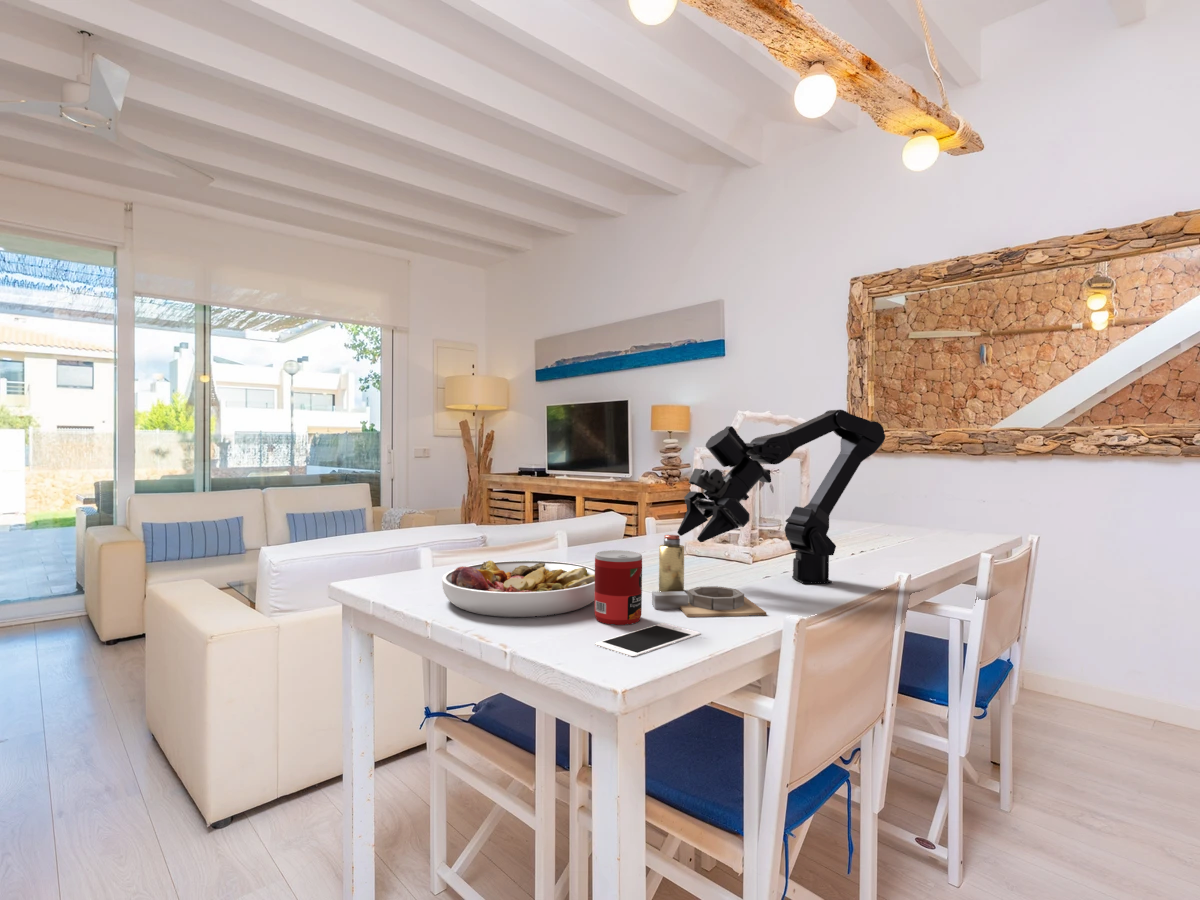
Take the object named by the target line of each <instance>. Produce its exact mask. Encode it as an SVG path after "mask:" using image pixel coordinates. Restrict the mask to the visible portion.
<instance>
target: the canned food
mask: <svg viewBox="0 0 1200 900" xmlns="http://www.w3.org/2000/svg"><path fill="white" fill-rule="evenodd" d="M642 556H643V555H642V553H640V552H636V551H630V550H618V549H617V550H616V549H615V550H602V551H598V552H596V553H595V557H594V568H595V600H594V617H595V620H596V621H598V622H599V623H601V622H602V624H605V623H606V624H605V625H611V624H615V625H614V626H626V625H625V624H629V625H633V624H632V623H634V624H636V622H637V623H639V621H640V620H641V617H642V606H643V605H642V601H643V598H642V597H643V557H642Z"/></svg>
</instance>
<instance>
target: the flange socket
mask: <svg viewBox="0 0 1200 900" xmlns="http://www.w3.org/2000/svg"><path fill="white" fill-rule="evenodd" d="M651 605H653V606H652V607H653V608H654V610H671V609H672V610H673V609H674V610H676V609H677V610H679V609H680V610H682V611H681V612H682V613H683V614H684V616H686V618H687V617H688V618H691V617H692V618H695V617H696V618H697V617H698V618H700V617H703V618H704V617H706V618H707V617H743V616H744V617H748V616H749V615H759V616H767V611H765V610H764V609H763V608H761V607H759V606H758V604H755V603H754V602H753V601H752V600H750V599H749V598H747V597H746V596H745V593H743V592H742V591H741V590H739V589H737V588H731V587H724V586H718V585H716V586H709V585H708V586H696V587H694V588H693V587H692V588H690V589H688V590H687V592H686V591H685V590H684V591H674V592H660V591H652V592H651Z"/></svg>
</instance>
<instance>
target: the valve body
mask: <svg viewBox="0 0 1200 900" xmlns="http://www.w3.org/2000/svg"><path fill="white" fill-rule="evenodd" d="M658 546H659V547H658V549H659V551H658V553H659V554H658V555H659V556H658V557H659V561H658V592H660V591H661V592H674V591H684V592H685V545H682V544H681V539H680V535H679V534H678V535H677V534H665V535H664V536H663V544H659V545H658Z"/></svg>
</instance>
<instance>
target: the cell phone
mask: <svg viewBox="0 0 1200 900" xmlns="http://www.w3.org/2000/svg"><path fill="white" fill-rule="evenodd" d="M701 634H702V633H701V632H700V631H696V630H692V629H687V628H685V627H681V626H676V625H674V624H673V625H672V624H669V623H665V622H661V623H657V624H654V625H650V626H647V627H644V628H641V629H638V630H633V631H630V632H626V633H623V634H619V635H617V636H613V637H610V638H607V639H603V640H601V641H597V642H595V643H594V646H595V645H597V646H596V647H598V646H600V647H599V648H601V647H603V648H602V649H604V648H605V650H607V649H609V650H608V651H611V650H612V651H611V652H614V651H616V652H615V653H617V652H619V653H618V654H620V653H622V654H621V655H623V654H625V655H624V656H626V655H628V656H627V657H629V656H636V655H639V654H642V655H644V654H643V653H645V652H648V651H651V652H653V651H652V650H654V651H656V650H655V649H657V650H659V648H660V649H663V648H665V646H666V647H668V646H670V645H669V644H671V645H673V644H672V643H674V642H677V643H679V642H678V641H680V640H683V641H685V640H684V639H686V640H688V639H687V638H689V639H691V638H690V637H692V638H695V637H697V635H698V636H700V635H701ZM694 636H695V637H694ZM680 642H681V641H680ZM674 644H675V643H674ZM667 645H668V646H667ZM662 647H663V648H662ZM648 653H649V652H648ZM645 654H646V653H645ZM639 656H640V655H639ZM636 657H637V656H636Z"/></svg>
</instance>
